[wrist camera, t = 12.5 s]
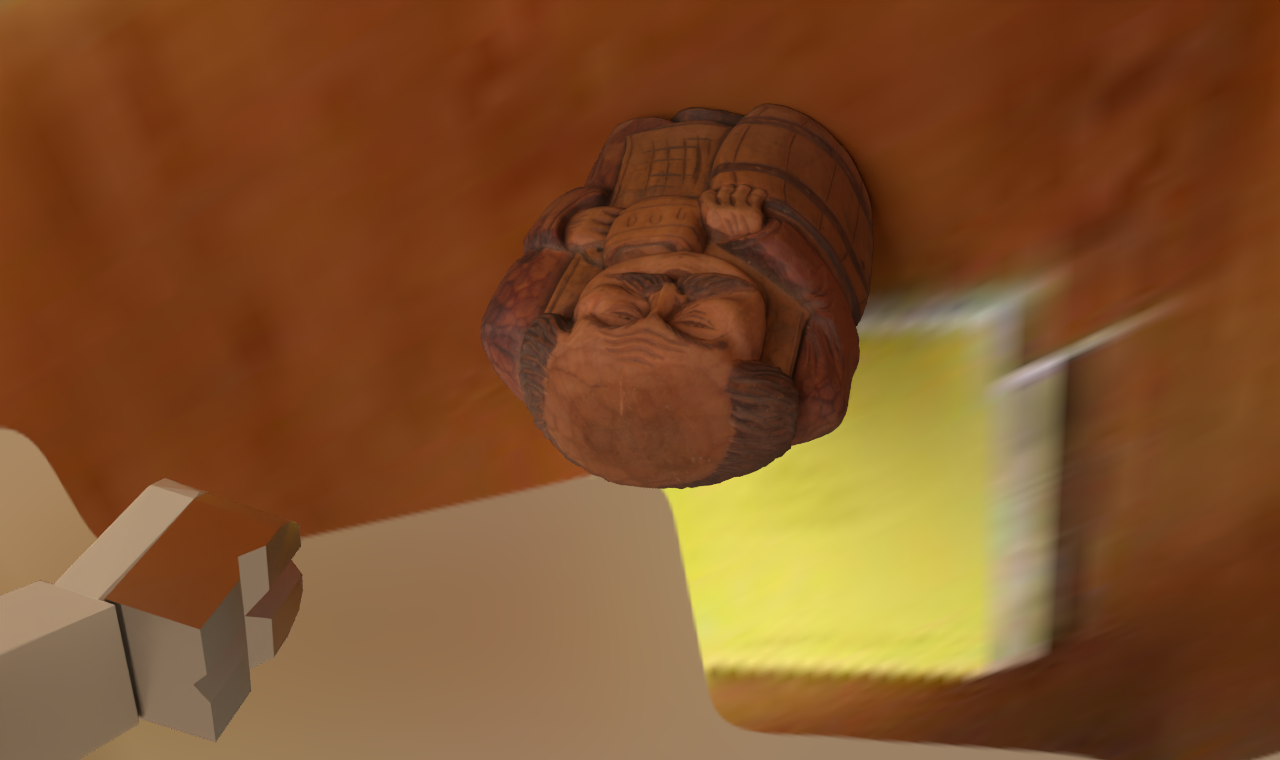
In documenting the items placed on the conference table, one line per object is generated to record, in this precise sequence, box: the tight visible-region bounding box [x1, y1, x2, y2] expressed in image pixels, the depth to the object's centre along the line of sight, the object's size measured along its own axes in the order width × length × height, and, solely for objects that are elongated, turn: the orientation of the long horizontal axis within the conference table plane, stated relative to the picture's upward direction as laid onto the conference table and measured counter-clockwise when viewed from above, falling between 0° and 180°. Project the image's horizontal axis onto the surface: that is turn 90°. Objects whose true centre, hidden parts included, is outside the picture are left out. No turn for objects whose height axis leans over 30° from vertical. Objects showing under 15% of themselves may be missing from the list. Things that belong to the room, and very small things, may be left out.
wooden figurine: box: [481, 104, 873, 489], centre depth 36 cm, size 12×6×18 cm, turn 96°
